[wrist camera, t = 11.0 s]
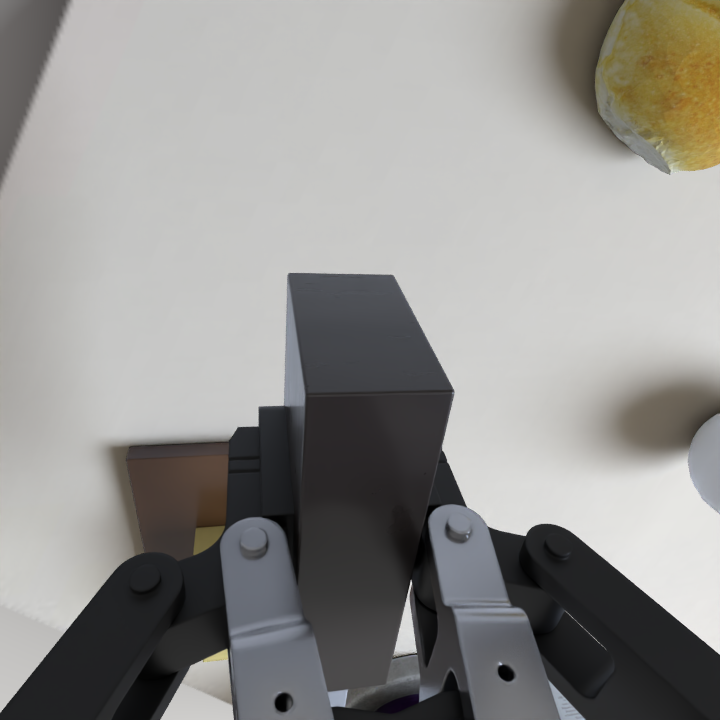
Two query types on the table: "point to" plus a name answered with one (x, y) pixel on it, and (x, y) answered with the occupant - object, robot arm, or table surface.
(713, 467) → the seamed sphere
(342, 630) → the knife
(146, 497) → the board
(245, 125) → the table surface
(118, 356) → the table surface
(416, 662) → the webcam
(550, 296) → the table surface
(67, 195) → the table surface
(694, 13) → the bread roll
